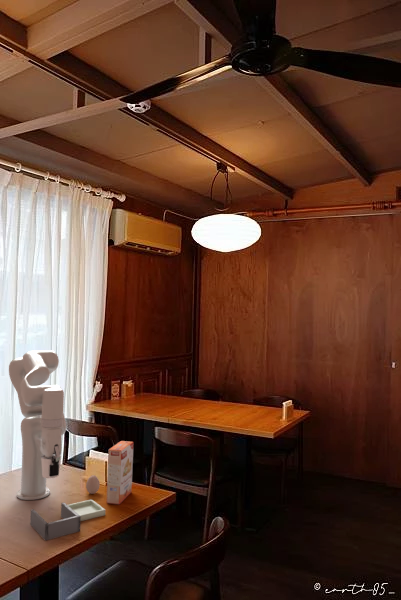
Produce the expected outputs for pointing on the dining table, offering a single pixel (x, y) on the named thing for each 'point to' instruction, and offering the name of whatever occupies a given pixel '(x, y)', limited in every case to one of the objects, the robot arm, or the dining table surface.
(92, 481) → the egg
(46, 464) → the white cylinder
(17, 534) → the dining table surface
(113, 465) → the cracker box
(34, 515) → the bay
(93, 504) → the tray
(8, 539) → the dining table surface
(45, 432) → the robot arm
